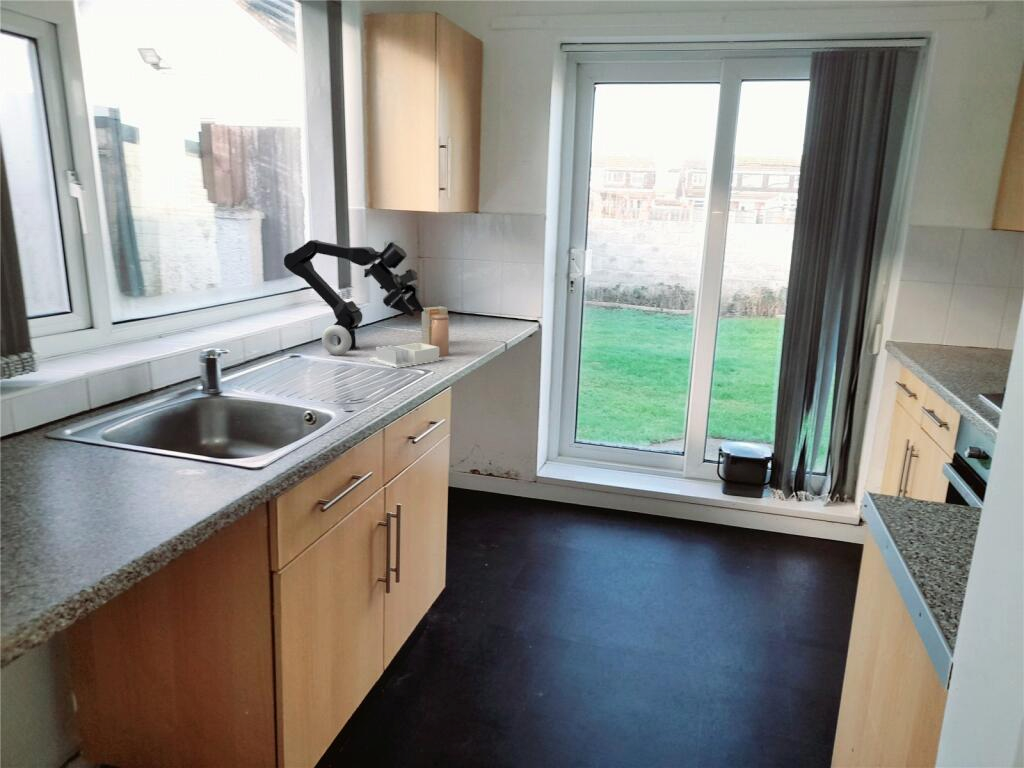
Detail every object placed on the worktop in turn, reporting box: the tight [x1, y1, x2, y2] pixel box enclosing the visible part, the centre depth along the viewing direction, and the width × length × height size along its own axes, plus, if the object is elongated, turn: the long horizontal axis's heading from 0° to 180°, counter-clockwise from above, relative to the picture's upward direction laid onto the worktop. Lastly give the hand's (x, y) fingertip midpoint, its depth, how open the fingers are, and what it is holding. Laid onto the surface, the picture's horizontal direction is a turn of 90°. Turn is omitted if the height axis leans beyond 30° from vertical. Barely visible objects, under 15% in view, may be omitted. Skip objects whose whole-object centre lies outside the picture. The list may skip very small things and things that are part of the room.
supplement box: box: [421, 306, 449, 345], centre depth 252 cm, size 8×5×13 cm, turn 131°
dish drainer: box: [369, 342, 443, 367], centre depth 226 cm, size 14×18×5 cm
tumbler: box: [431, 315, 450, 357], centre depth 235 cm, size 6×6×13 cm
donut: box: [321, 324, 352, 356], centre depth 232 cm, size 10×4×10 cm, turn 80°
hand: (418, 313), depth 235 cm, fingers open, 9 cm apart
